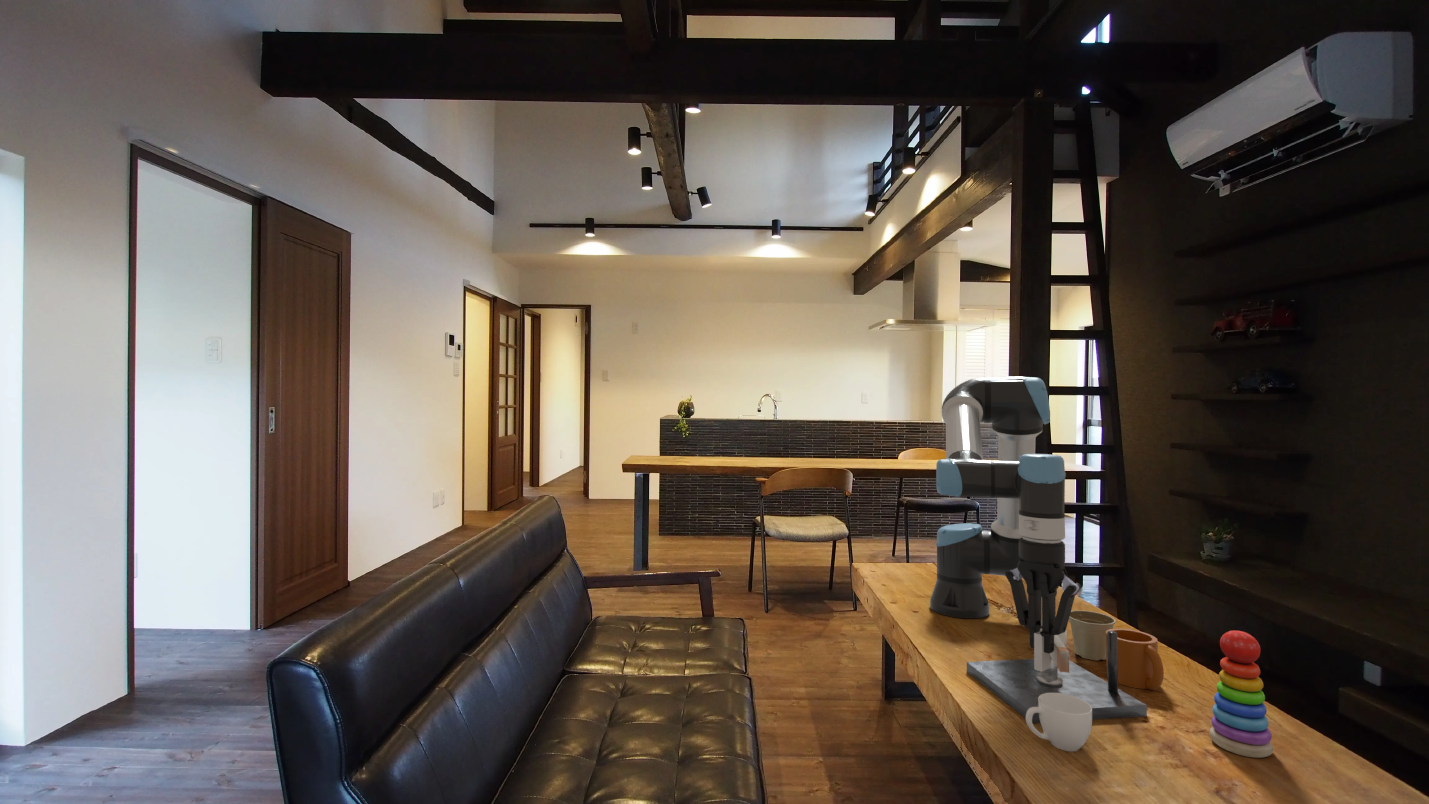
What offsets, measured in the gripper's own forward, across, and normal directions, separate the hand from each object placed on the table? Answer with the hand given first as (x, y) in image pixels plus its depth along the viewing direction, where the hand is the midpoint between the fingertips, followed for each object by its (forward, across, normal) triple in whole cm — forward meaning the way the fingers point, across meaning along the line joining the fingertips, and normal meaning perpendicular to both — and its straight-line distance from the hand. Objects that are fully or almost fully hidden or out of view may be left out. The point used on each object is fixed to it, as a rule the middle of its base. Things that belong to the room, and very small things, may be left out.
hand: (1041, 668), depth 114 cm
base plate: (+8, -3, +9) cm, 12 cm away
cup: (+8, +8, -10) cm, 15 cm away
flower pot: (+8, -7, +35) cm, 36 cm away
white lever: (-1, -1, +6) cm, 6 cm away
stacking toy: (+8, +25, +14) cm, 30 cm away
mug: (+8, +5, +27) cm, 29 cm away
